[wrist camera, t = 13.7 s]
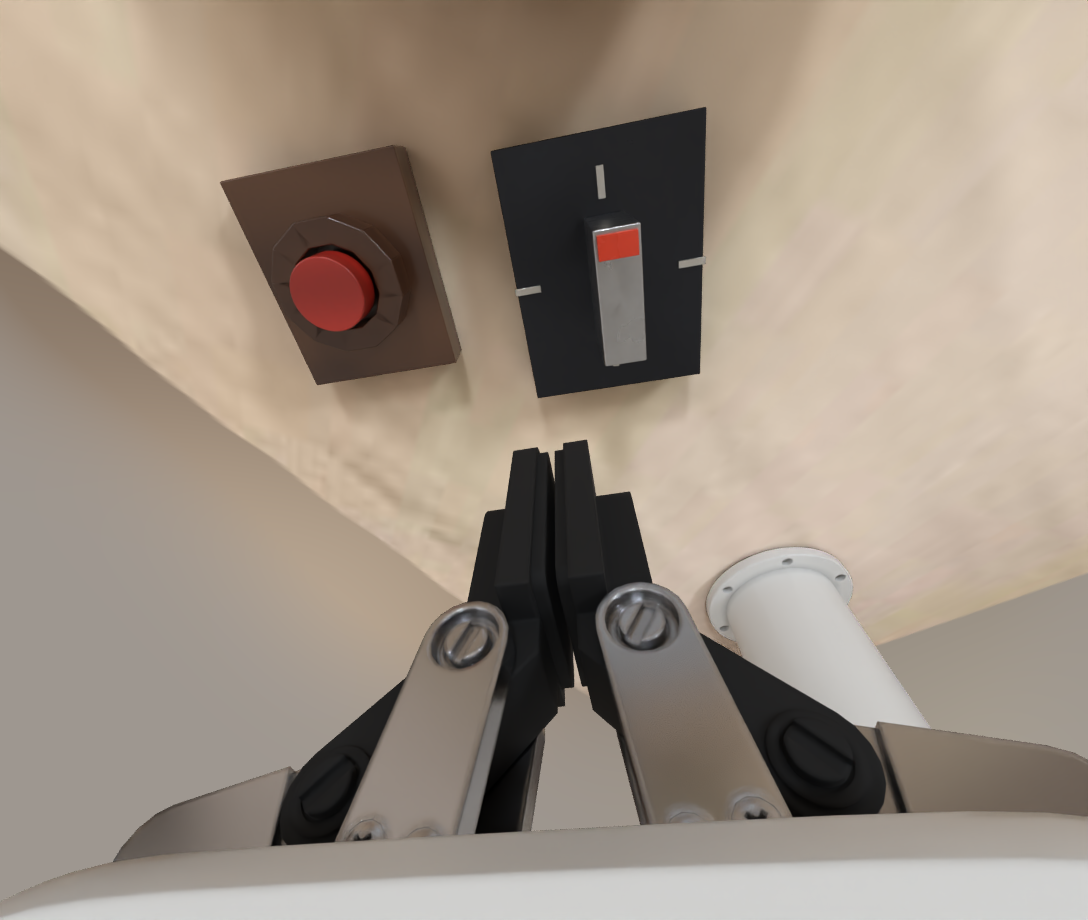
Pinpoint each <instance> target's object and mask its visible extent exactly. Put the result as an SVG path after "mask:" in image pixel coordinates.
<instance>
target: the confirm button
mask: <svg viewBox="0 0 1088 920" xmlns="http://www.w3.org/2000/svg"><path fill="white" fill-rule="evenodd" d="M290 293H291V297H292V299H293V302H294V304H295V306H296V307H297V309H298V310H299V312H300V313H301V314H302V315H303V316H304V317H305V318H306V319H307V320H308V321H309V322H311V323H312V324H314V325H315V326H317V327H319V328H322V329H324V330H328V331H335V332H339V331H345V330H348V329H351V328H352V327H354V326H355V325H356V324H357V323H359V322H360V321H361V320H362V319H363V318H364V317H366V316H367V315H368V314H369V312H370V311H371V309H372V307H373V304H374V299H375V291H374V286H373V282H372V280H371V278H370V276H369V274H368V272H367V271H366V270H365V268H364V267H363V266H362V265H361V264H360V263H359V262H358V261H357V260H355V259H354V258H353V257H351V256H349V255H347V254H345V253H342V252H339V251H323V252H320V253H317V254H315V255H312V256H310V257H308V258H305V259H303V260H302V261H300V262H299V263H298V264H297V265H296V266H295V267H294V269H293V271H292V273H291V276H290Z"/></svg>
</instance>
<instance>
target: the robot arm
mask: <svg viewBox="0 0 1088 920" xmlns="http://www.w3.org/2000/svg"><path fill="white" fill-rule="evenodd" d="M852 591H853V583H852V578H851V576H850V575H849V573H848V571H847V570H846V568H845V567H844V566H843V565H842V563H841V562H840V561H839V560H838V559H836V558H835V557H834V556H832V555H830V554H828V553H826V552H823V551H821V550H817V549H812V548H804V547H787V548H778V549H773V550H768V551H764V552H761V553H758V554H755V555H752V556H750V557H748V558H746V559H744V560H742V561H740V562H738V563H737V564H735V565H734V566H732V567H731V568H729V569H728V570H727V571H725V572H724V573H723V574H722V575H721V576H720V577H719V578H718V579H717V580H716V582H715V583H714V584H713V586H712V587H711V589H710V591H709V593H708V596H707V601H706V609H707V614H708V616H709V619H710V622H711V624H712V625H713V627H714V629H715V630H716V631H717V632H718V633H720V634H721V635H722V636H724V637H726V638H727V639H729V640H732V641H735V642H737V644H738V647H739V649H740V652H741V654H742V657H743V658H742V657H741V656H739V655H737V654H735V653H734V652H732V651H730V650H729V649H727V648H725V647H723V646H722V645H720V644H718V643H717V642H715V641H713V640H711V639H710V638H708V637H706V636H705V635H703V634H701V633H699V631H698V629H697V627H696V625H695V623H694V621H693V619H692V617H691V615H690V613H689V611H688V609H687V607H686V606H685V604H684V603H683V602H682V600H681V599H680V598H679V597H678V596H677V595H676V594H674V593H673V592H672V591H670V590H669V589H667V588H665V587H662V586H660V585H657V584H653V583H652V579H651V575H650V571H649V567H648V562H647V558H646V554H645V550H644V546H643V542H642V538H641V534H640V529H639V525H638V521H637V517H636V513H635V509H634V505H633V500H632V497H631V493H630V492H623V493H616V494H609V495H602V496H596V493H595V486H594V480H593V474H592V467H591V461H590V455H589V449H588V442H587V440H582V441H575V442H569V443H563V450H558V451H555V481H554V477H553V472H552V467H551V463H550V458H549V454H548V452H545V453H540V452H539V449H538V447H536V448H530V449H523V450H517V451H514V452H513V457H512V464H511V471H510V478H509V485H508V492H507V499H506V506H505V509H501V510H494V511H488V512H487V513H486V514H485V517H484V522H483V527H482V532H481V537H480V542H479V547H478V552H477V557H476V562H475V567H474V572H473V577H472V582H471V587H470V592H469V597H468V602H465V603H462V604H460V605H457V606H454V607H452V608H450V609H449V610H447V611H446V612H444V613H443V614H441V615H440V616H439V617H438V618H437V619H436V620H435V621H434V622H433V623H432V624H431V626H430V628H429V629H428V631H427V632H426V634H425V636H424V638H423V640H422V643H421V645H420V647H419V650H418V652H417V654H416V656H415V659H414V661H413V663H412V666H411V668H410V670H409V672H408V675H407V677H406V678H405V679H404V680H402V681H401V682H400V683H399V684H398V685H397V686H395V687H394V688H393V689H392V690H391V691H389V692H388V693H387V694H386V695H385V696H384V697H382V698H381V699H380V700H379V701H378V702H376V703H375V704H374V705H373V706H372V707H371V708H369V709H368V710H367V711H366V712H365V713H363V714H362V715H361V716H360V717H359V718H358V719H356V720H355V721H354V722H353V723H352V724H351V725H349V726H348V727H347V728H346V729H345V730H343V731H342V732H341V733H340V734H339V735H337V736H336V737H335V738H334V739H333V740H332V741H330V742H329V743H328V744H327V745H326V746H324V747H323V748H322V749H321V750H320V751H319V752H317V753H316V754H315V755H314V756H313V757H312V758H311V759H310V760H309V761H308V762H307V763H306V764H305V766H303V767H302V769H301V770H298V771H294V770H293V769H292V768H291V767H287V768H284V769H281V770H278V771H274V772H271V773H269V774H265V775H263V776H259V777H256V778H253V779H250V780H248V781H244V782H241V783H239V784H235V785H232V786H229V787H226V788H223V789H221V790H217V791H215V792H211V793H208V794H205V795H202V796H199V797H196V798H194V799H190V800H187V801H184V802H181V803H178V804H175V805H173V806H171V807H169V808H167V809H165V810H163V811H161V812H159V813H157V814H155V815H154V816H153V817H152V818H150V820H148V821H147V822H146V823H144V824H143V825H142V826H141V827H139V828H138V829H137V830H136V832H135V833H134V834H133V835H132V836H131V837H130V839H128V841H127V842H126V843H125V844H124V845H123V846H122V847H121V849H120V851H119V853H118V854H117V856H116V857H115V859H114V861H113V862H111V863H107V864H103V865H99V866H95V867H91V868H87V869H83V870H79V871H74V872H71V873H68V874H65V875H63V876H60V877H57V878H54V879H51V880H48V881H45V882H43V883H41V884H38V885H36V886H34V887H31V888H29V889H27V890H24V891H22V892H20V893H17V894H15V895H13V896H11V897H9V898H7V899H4V900H2V901H1V902H0V920H1088V760H1087V759H1085V758H1083V757H1082V756H1079V755H1078V754H1076V753H1073V752H1069V751H1066V750H1062V749H1058V748H1055V747H1051V746H1047V745H1041V744H1033V743H1027V742H1020V741H1013V740H1006V739H999V738H992V737H985V736H978V735H971V734H964V733H957V732H949V731H942V730H935V729H931V727H930V726H929V724H928V723H927V721H926V720H925V718H924V717H923V715H922V714H921V713H920V711H919V710H918V708H917V707H916V705H915V704H914V702H913V701H912V699H911V698H910V696H909V695H908V693H907V692H906V691H905V689H904V688H903V686H902V685H901V683H900V682H899V680H898V679H897V677H896V676H895V675H894V673H893V671H892V670H891V668H890V667H889V665H888V664H887V663H886V661H885V660H884V658H883V657H882V655H881V654H880V652H879V651H878V649H877V648H876V646H875V645H874V643H873V642H872V641H871V639H870V638H869V636H868V635H867V633H866V632H865V630H864V629H863V627H862V626H861V624H860V623H859V621H858V620H857V618H856V617H855V616H854V614H853V613H852V611H851V610H850V608H849V607H848V603H849V601H850V599H851V597H852ZM573 652H574V656H575V660H576V664H577V668H578V672H579V676H580V680H581V684H582V686H587V687H588V691H589V695H590V699H591V703H592V708H593V710H594V711H595V712H596V713H597V714H598V715H599V716H601V717H602V718H603V719H604V720H605V721H606V722H607V723H609V724H610V725H611V726H612V727H613V728H615V729H616V732H617V737H618V741H619V745H620V749H621V753H622V756H623V760H624V764H625V768H626V772H627V776H628V780H629V783H630V787H631V791H632V795H633V799H634V802H635V806H636V810H637V814H638V818H639V822H640V825H634V826H616V827H597V828H581V829H580V828H579V829H560V830H542V831H531V828H532V822H533V815H534V809H535V803H536V796H537V789H538V783H539V776H540V770H541V763H542V757H543V750H544V744H545V727H546V725H547V724H548V723H549V722H550V721H551V720H552V719H553V717H554V716H555V715H556V714H557V713H558V707H561V706H565V690H564V689H565V688H572V687H574V664H573Z"/></svg>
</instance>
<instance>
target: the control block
mask: <svg viewBox="0 0 1088 920" xmlns="http://www.w3.org/2000/svg"><path fill="white" fill-rule="evenodd" d="M220 184H221V186H222V188H223V190H224V192H225V194H226V196H227V198H228V200H229V202H230V205H231V207H232V209H233V211H234V213H235V215H236V217H237V219H238V221H239V223H240V225H241V227H242V230H243V232H244V234H245V236H246V238H247V240H248V242H249V244H250V246H251V248H252V250H253V253H254V255H255V257H256V259H257V261H258V263H259V265H260V267H261V269H262V271H263V273H264V275H265V278H266V280H267V282H268V284H269V286H270V288H271V290H272V292H273V294H274V296H275V298H276V300H277V303H278V305H279V307H280V309H281V311H282V313H283V315H284V317H285V319H286V321H287V323H288V325H289V328H290V330H291V332H292V334H293V336H294V338H295V340H296V342H297V344H298V346H299V348H300V350H301V353H302V355H303V357H304V359H305V361H306V363H307V365H308V367H309V369H310V371H311V373H312V375H313V378H314V380H315V382H316V384H317V385H321V384H327V383H333V382H339V381H346V380H352V379H358V378H364V377H370V376H376V375H383V374H389V373H395V372H401V371H407V370H414V369H420V368H426V367H432V366H438V365H445V364H451V363H456V361H457V359H458V357H459V355H460V352H461V346H460V343H459V339H458V336H457V332H456V328H455V325H454V321H453V317H452V314H451V310H450V307H449V303H448V299H447V296H446V292H445V289H444V285H443V281H442V278H441V274H440V271H439V267H438V263H437V260H436V256H435V252H434V249H433V245H432V242H431V238H430V234H429V231H428V227H427V224H426V220H425V216H424V213H423V209H422V205H421V202H420V198H419V195H418V191H417V187H416V184H415V180H414V177H413V173H412V169H411V166H410V162H409V159H408V155H407V151H406V148H405V147H404V146H395V145H391V146H387V147H382V148H377V149H372V150H368V151H363V152H358V153H353V154H349V155H344V156H339V157H334V158H330V159H325V160H320V161H315V162H311V163H306V164H301V165H296V166H292V167H287V168H282V169H277V170H273V171H268V172H263V173H258V174H254V175H249V176H244V177H239V178H235V179H230V180H225V181H221V182H220ZM323 251H339V252H342V253H345V254H347V255H349V256H351V257H353V258H354V259H355V260H357V261H358V262H359V263H360V264H361V265H362V266H363V267H364V268H365V270H366V271H367V272H368V274H369V276H370V278H371V280H372V282H373V286H374V291H375V299H374V304H373V307H372V309H371V311H370V312H369V314H368V315H367V316H366V317H364V318H363V319H362V320H361V321H360V322H359V323H357V324H356V325H355V326H354V327H352V328H351V329H348V330H345V331H339V332H335V331H328V330H324V329H322V328H319V327H317V326H315V325H314V324H312V323H311V322H309V321H308V320H307V319H306V318H305V317H304V316H303V315H302V314H301V313H300V312H299V310H298V309H297V307H296V306H295V304H294V302H293V299H292V297H291V293H290V276H291V273H292V271H293V269H294V267H295V266H296V265H297V264H298V263H299V262H300V261H302V260H303V259H305V258H308V257H310V256H312V255H315V254H317V253H320V252H323Z"/></svg>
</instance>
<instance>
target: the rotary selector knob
mask: <svg viewBox="0 0 1088 920" xmlns="http://www.w3.org/2000/svg"><path fill="white" fill-rule="evenodd" d="M584 227H585V236H586V246H587V255H588V265H589V274H590V284H591V293H592V302H593V312H594V321H595V331H596V336H597V339H598V343H599V346H600V349H601V353H602V356H603V360H604V363H605V366H612V365H618V364H624V363H631V362H637V361H644V360H646V359H647V356H646V333H645V311H644V288H643V266H642V243H641V223H640V222H639V221H637V220H636V219H634V218H632V217H631V216H629V215H628V214H626V213H625V212H623V211H620V212H614V213H609V214H604V215H598V216H593V217H588V218H584Z"/></svg>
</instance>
